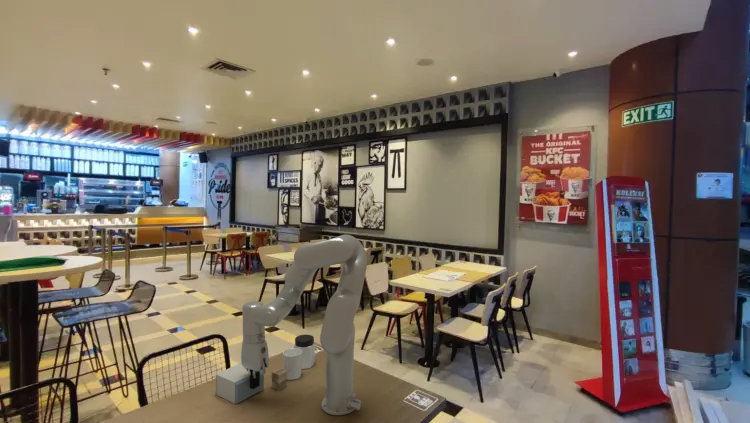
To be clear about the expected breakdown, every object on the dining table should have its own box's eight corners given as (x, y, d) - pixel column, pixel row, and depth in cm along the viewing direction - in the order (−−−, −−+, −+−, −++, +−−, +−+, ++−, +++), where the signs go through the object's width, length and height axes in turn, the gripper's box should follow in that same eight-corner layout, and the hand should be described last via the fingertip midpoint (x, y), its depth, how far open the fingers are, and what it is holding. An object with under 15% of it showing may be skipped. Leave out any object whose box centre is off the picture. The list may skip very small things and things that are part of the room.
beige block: (286, 386, 137) (286, 370, 137) (278, 390, 133) (279, 375, 133) (279, 383, 139) (279, 368, 139) (271, 387, 135) (271, 372, 135)
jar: (318, 364, 155) (318, 337, 155) (303, 371, 149) (303, 343, 149) (305, 358, 161) (305, 332, 161) (290, 364, 155) (290, 337, 154)
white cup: (299, 381, 141) (300, 356, 140) (280, 380, 141) (280, 355, 141) (304, 371, 149) (304, 348, 148) (285, 371, 149) (285, 347, 149)
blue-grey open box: (263, 389, 134) (263, 371, 134) (237, 403, 124) (237, 384, 124) (244, 380, 140) (244, 364, 140) (218, 394, 130) (218, 376, 130)
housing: (262, 388, 135) (262, 369, 134) (234, 403, 125) (234, 382, 124) (243, 380, 141) (243, 362, 140) (215, 394, 130) (215, 374, 130)
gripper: (276, 337, 127) (277, 388, 127) (248, 329, 134) (249, 377, 135) (259, 344, 120) (260, 397, 121) (231, 336, 128) (232, 386, 128)
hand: (254, 387), depth 128 cm, fingers closed
